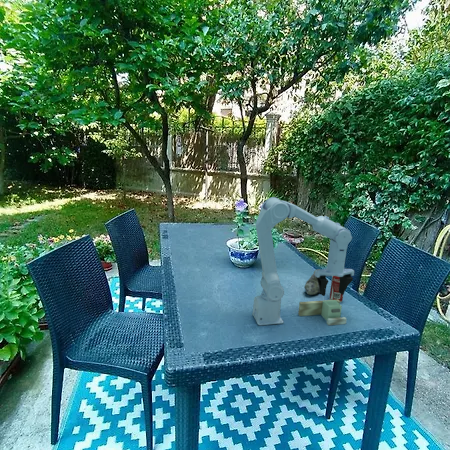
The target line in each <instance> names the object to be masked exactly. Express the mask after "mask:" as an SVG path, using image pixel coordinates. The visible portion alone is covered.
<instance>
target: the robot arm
mask: <svg viewBox="0 0 450 450" xmlns="http://www.w3.org/2000/svg"><path fill="white" fill-rule="evenodd" d="M260 208H261V209H260V211H259V214H258V217H257V219H256V222H255V229H256V231H255V232H256V237H257V243H258V250H259V256H260V263H261V267H262V272H261V280H260V286H261V287H262V291H261V294H260V295H258V296H254V299H253V306H252V307H253V309H252V313H251V314H252V316H253V318H254V320H255V323H257V325H258V326H266V325H280V324H284V320H283V319H282V317H281V305H282V298H283V297H284V296H285V289H284V287H283V286H282V284H281V279H280V276H279V275H278V274H279V273H278V269H277V262H276V256H275V255H276V254H275V247H274V241H273V233H272V229H273V228H274V227H275V226H277V225H278V224H279V223H281V222H283V221H284V220H286V218H288V219H292V218H297V219H299V220H301V221H303V222H306V223H308V224H309V225H311V226H312V230H313V231H314V232H316V233H317V234H320V235H322V236H325V237H326V238H327V239H330V241H329V249H328V257H327V263H326V268H322V269H320V270H318V269H315V270H314V271H315V276H316V278H317V281H318V284H319V288H320V292H319V294H320V295H321V296H323V297H325V296H326V291H327V286H328V283H329V280H328V278H327V277H332V276H338V277H339V278H340V284H339V293H340V294H342V295H343V296H344V295H345V292H346V290H347V288H348V286H349V285H350V284H351V283H352V281H353V279H354V278H353V277H354V276H355V270H354V269H352V268H345V263H346V256H347V250H348V245H349V243H350V242H351V241H352V239H353V236H352V233H351V231H350V230H349V229H348V228H346V227H344V226H342V225H341V223H339V222H334V221H333V220H332V219H331V220H330V217H329V216H327V215H324V216H323V215H319V216H315V215H313V214H312V213H310V212H308V211H306V210H305V209H303V208H301V207H300V206H298V205H296V204H294V203H292V202H289V201H286V200H282V199H281V200H280V198H278V197H277V196H276V197H275V196H272V197H269V198H267V199H266V200H265V201H264V202H263V203H262V205H261V207H260Z"/></svg>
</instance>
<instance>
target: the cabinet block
mask: <svg viewBox="0 0 450 450" xmlns="http://www.w3.org/2000/svg"><path fill="white" fill-rule="evenodd" d="M322 301H323V300H322ZM342 309H343V305H341V303H340V304H339V303H338V302H337V301H336V300H330V299H327V301H323V305H322V313H321V315H320V316H322V318H323V319H324V320H325V321H326V322H327V319H328V318H340V317H341V315H342Z"/></svg>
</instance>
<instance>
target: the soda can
mask: <svg viewBox="0 0 450 450" xmlns="http://www.w3.org/2000/svg"><path fill="white" fill-rule="evenodd" d="M339 284H340V278H339V277H338V276H331V283H330V291H329V300H337V299H338V300H339V301H340V303H342V302H343V300H344V295H342V294H340V293H339Z"/></svg>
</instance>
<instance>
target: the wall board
mask: <svg viewBox="0 0 450 450" xmlns="http://www.w3.org/2000/svg"><path fill="white" fill-rule="evenodd" d="M327 300H328V299H327ZM327 300H323V299H322V300H313V301H312V300H311V301H309V300H308V301H299V304H298V313H297V314H298V316H299V317H307V316H318V315H320V316H322V315H321V313H322V305H323V301H327ZM336 301H337V302H338V303H339V304H340V305H341V302H340V301H339V300H338V299H337V300H336ZM346 324H347V317H345V316H342V317H341V316H340V318H328V319H327V321H326V325H327V326H338V325H346Z"/></svg>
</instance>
